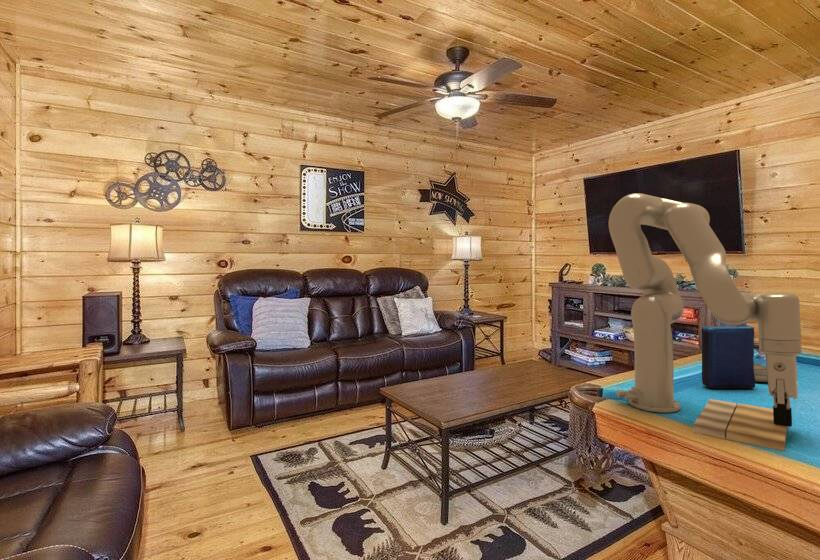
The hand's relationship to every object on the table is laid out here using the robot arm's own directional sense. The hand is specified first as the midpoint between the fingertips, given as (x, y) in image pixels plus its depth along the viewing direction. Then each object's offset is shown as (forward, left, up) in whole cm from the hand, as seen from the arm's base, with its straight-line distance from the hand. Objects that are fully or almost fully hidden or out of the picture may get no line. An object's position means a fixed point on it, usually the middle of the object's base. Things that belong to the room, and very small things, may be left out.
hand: (782, 424), depth 100 cm
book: (+10, +37, -2) cm, 38 cm away
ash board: (-10, +8, -2) cm, 13 cm away
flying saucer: (+25, +49, -3) cm, 55 cm away
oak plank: (-4, +3, -2) cm, 5 cm away
